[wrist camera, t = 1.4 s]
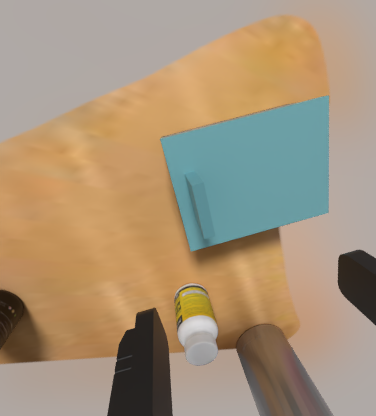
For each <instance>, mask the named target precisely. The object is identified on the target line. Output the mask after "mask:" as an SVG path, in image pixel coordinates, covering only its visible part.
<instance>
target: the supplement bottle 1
mask: <svg viewBox="0 0 376 416" xmlns="http://www.w3.org/2000/svg"><path fill="white" fill-rule="evenodd" d="M23 311H24V310H23V305H22V302H21V301H20V299H19V298H18V297H17V296H15V295H14V294H12V293H10V292H8V291H5V290H0V349H1V348H2V346H3V345H4V343H5V342H6V340H7V339H8V337H9V336H10V334H11V333H12V331H13V330H14V328H15V327H16V325H17V324H18V322H19V321H20V319H21V317H22V315H23Z"/></svg>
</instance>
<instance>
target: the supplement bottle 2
mask: <svg viewBox="0 0 376 416" xmlns="http://www.w3.org/2000/svg"><path fill="white" fill-rule="evenodd" d="M175 311H176V322H177V333H178V339H179V341H180V343H181V344H182V345H183V346H184V349H185V356H186V359H187V361H188V362H189V363H190V364H193V365H197V366H200V365H205V364H208V363H210V362H212V361H213V360H214V359H215V358H216V356H217V354H218V348H217V344H216V338H217V335H218V328H217V324H216V320H215V317H214V313H213V310H212V307H211V303H210V300H209V296H208V293H207V291H206V289H205V288H204V287H203V286H201V285H199V284H195V283H191V284H186V285H184V286H182V287H181V288H179V289H178V291H177V292H176V294H175Z"/></svg>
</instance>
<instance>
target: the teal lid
mask: <svg viewBox="0 0 376 416" xmlns="http://www.w3.org/2000/svg"><path fill="white" fill-rule="evenodd" d="M160 140H161V143H162V147H163V151H164V155H165V158H166V162H167V166H168V169H169V173H170V177H171V180H172V184H173V188H174V191H175V195H176V199H177V202H178V206H179V210H180V213H181V217H182V221H183V224H184V228H185V232H186V235H187V239H188V243H189V246H190V250H191V251H195V250H198V249H202V248H205V247H209V246H213V245H216V244H220V243H223V242H227V241H230V240H234V239H237V238H241V237H244V236H248V235H251V234H255V233H259V232H262V231H266V230H269V229H273V228H276V227H280V226H283V225H287V224H290V223H294V222H297V221H301V220H305V219H308V218H312V217H315V216H319V215H322V214H325V213H328V201H329V198H328V197H329V193H328V192H329V189H328V188H329V186H328V185H329V178H328V177H329V95H328V96H323V97H319V98H315V99H311V100H307V101H303V102H299V103H296V104H292V105H288V106H284V107H280V108H276V109H272V110H269V111H265V112H261V113H257V114H253V115H249V116H245V117H242V118H238V119H234V120H230V121H226V122H222V123H218V124H215V125H211V126H207V127H203V128H199V129H195V130H191V131H187V132H184V133H180V134H176V135H172V136H168V137H164V138H160Z"/></svg>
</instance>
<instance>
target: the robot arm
mask: <svg viewBox="0 0 376 416" xmlns="http://www.w3.org/2000/svg"><path fill="white" fill-rule="evenodd" d="M338 286H339V289H340V290H341V292H342V294H343V295H344V296H345V297H346V298H347V299H348V300H349V301H350V302H351V303H352V304H353V305H354V306H355V307H357V309H359V310H360V311H361V312H362V313H363V314H364V315H365V316H366V317H367V318H368V319H369V320H371V321H372V322H373V323H374V324H375V325H376V258H374V257H373V256H371V255H369V254H368V253H366V252H364V251H362V250H356V251H352V252H348V253H345V254H342V255H340V256H339V260H338ZM236 348H237V353H238V355H239V358H240V361H241V364H242V367H243V369H244V373H245V375H246V378H247V381H248V384H249V386H250V389H251V392H252V395H253V398H254V401H255V403H256V406H257V409H258V412H259V414H260V416H333V414H332V412H331V411H330V409H329V408H328V406H327V404H326V403H325V401H324V399H323V398H322V396H321V394H320V393H319V391H318V390H317V388H316V386H315V385H314V383H313V382H312V380H311V378H310V377H309V375H308V373H307V372H306V370H305V368H304V367H303V365H302V364H301V362H300V360H299V358H298V357H297V355H296V354H295V352H294V350H293V348H292V347H291V346H290V344H289V342H288V340H287V339H286V337H285V336H284V334H283V332H282V331H281V329H280V328H278V327H277V326H274V325H270V324H264V325H258V326H255V327H253V328H251V329H249V330H247V331H246V332H245V333H244V334H243V335H242V336H241V337H240V338H239V340H238V342H237V346H236ZM170 382H171V381H170V364H169V348H168V341H167V336H166V333H165V330H164V328H163V325H162V323H161V320H160V317H159V315H158V312H157V310H156V308H152V309H149V310H145V311H142V312H139V313H137V315H136V323H135V328H134V329H130V330H127V331H126V332H125V334H124V336H123V338H122V340H121V342H120V344H119V348H118V354H117V362H116V366H115V375H114V379H113V385H112V391H111V397H110V403H109V409H108V415H107V416H173V415H172V398H171V383H170Z"/></svg>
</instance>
